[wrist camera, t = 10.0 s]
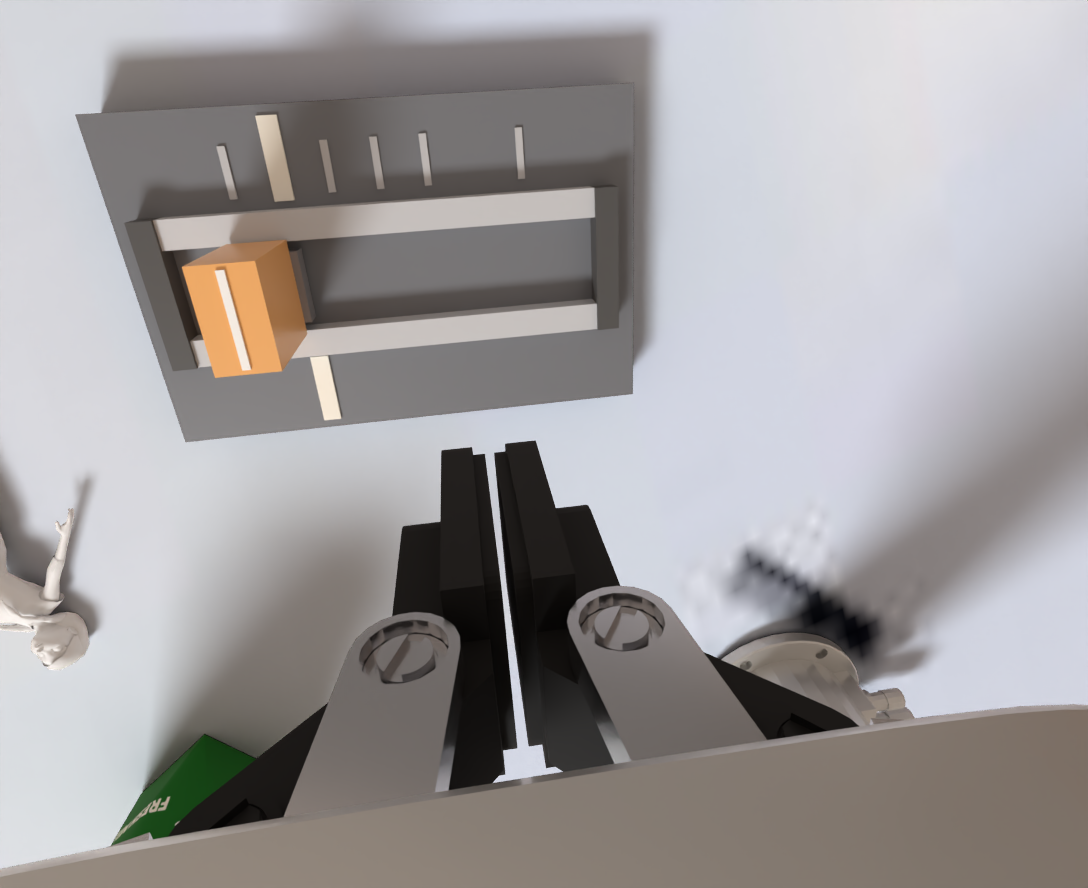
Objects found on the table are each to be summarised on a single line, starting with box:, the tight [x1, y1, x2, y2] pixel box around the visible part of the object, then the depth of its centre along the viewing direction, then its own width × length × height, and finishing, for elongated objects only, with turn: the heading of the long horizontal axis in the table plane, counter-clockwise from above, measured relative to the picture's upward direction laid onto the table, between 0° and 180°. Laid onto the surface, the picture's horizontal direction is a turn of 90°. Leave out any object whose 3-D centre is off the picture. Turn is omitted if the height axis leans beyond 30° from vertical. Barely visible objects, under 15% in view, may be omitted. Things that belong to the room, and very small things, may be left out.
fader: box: [182, 240, 316, 378], centre depth 25 cm, size 3×4×6 cm
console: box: [76, 83, 634, 442], centre depth 29 cm, size 22×14×3 cm, turn 93°
